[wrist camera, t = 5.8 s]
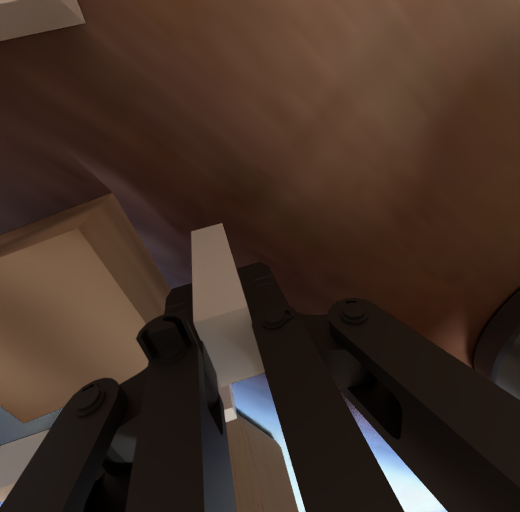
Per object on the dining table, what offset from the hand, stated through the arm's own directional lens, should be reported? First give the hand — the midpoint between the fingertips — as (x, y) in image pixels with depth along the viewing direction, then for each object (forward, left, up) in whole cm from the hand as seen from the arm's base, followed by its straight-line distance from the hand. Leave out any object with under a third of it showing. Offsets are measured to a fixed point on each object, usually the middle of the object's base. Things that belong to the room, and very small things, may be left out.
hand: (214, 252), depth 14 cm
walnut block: (+7, 0, -2) cm, 7 cm away
